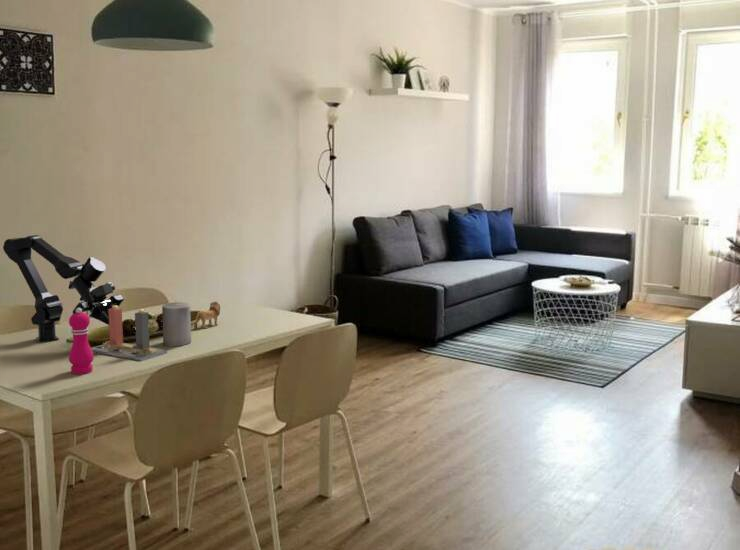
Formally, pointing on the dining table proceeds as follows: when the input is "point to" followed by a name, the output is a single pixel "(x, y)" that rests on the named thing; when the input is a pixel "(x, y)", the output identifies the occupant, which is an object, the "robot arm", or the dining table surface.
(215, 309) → the lion figurine
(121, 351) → the bolt plate
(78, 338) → the pepper mill
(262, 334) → the dining table surface
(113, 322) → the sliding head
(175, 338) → the pillar candle
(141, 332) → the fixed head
